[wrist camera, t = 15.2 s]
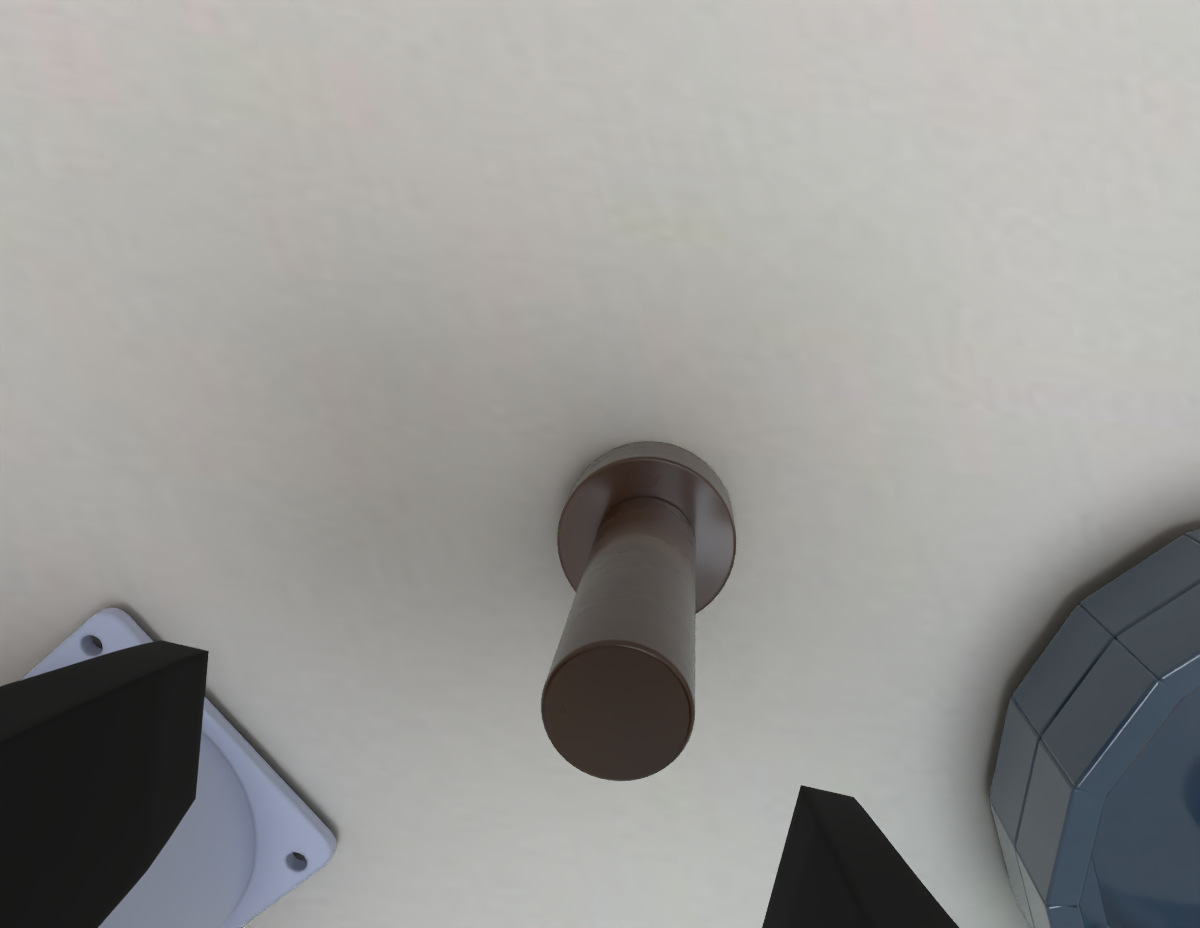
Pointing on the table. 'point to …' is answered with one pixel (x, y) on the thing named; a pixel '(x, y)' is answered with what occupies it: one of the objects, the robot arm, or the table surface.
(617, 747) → the coffee tamper
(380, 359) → the table surface
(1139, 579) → the bowl
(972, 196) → the table surface
